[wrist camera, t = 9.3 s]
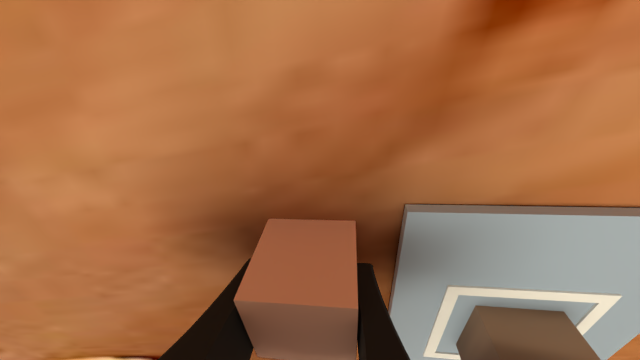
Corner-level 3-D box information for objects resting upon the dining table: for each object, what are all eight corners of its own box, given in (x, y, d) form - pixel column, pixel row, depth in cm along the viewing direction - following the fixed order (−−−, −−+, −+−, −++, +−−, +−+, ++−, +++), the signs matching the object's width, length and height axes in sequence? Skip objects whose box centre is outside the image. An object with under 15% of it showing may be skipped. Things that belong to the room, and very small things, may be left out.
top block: (354, 277, 13) (356, 366, 9) (281, 273, 13) (257, 356, 10) (355, 220, 11) (358, 308, 7) (268, 218, 11) (233, 300, 8)
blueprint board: (553, 388, 17) (559, 399, 16) (378, 371, 18) (379, 381, 18) (760, 209, 8) (787, 221, 8) (405, 204, 10) (408, 213, 9)
